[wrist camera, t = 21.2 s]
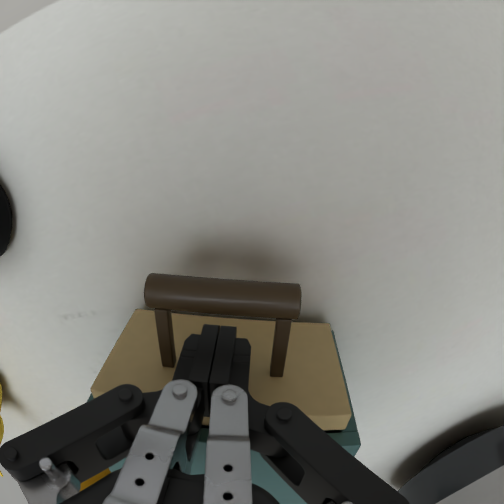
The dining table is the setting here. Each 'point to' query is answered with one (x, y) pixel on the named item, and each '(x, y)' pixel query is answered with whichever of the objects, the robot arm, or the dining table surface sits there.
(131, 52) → the dining table surface
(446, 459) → the planter
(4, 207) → the beverage can
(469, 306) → the dining table surface
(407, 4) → the dining table surface
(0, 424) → the teapot
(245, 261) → the dining table surface
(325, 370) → the drawer
